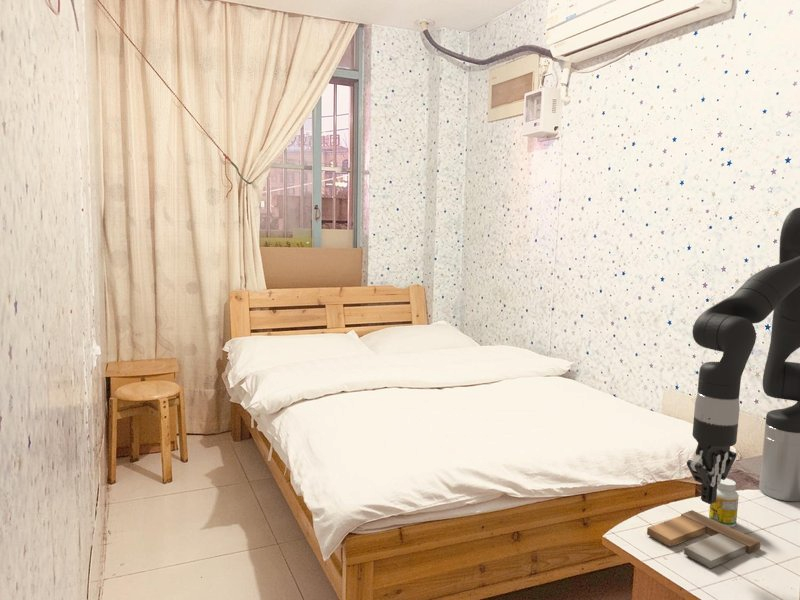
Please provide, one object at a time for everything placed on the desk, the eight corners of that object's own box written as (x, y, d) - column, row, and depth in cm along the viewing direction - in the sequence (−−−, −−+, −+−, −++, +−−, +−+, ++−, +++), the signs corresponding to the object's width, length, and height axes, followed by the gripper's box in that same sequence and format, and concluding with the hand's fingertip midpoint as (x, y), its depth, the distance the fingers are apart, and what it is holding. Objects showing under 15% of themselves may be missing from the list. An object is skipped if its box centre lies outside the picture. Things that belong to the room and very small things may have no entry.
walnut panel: (691, 516, 132) (692, 510, 131) (759, 548, 119) (760, 541, 119) (680, 520, 130) (681, 514, 129) (748, 553, 117) (749, 546, 117)
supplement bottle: (740, 529, 126) (744, 487, 125) (713, 527, 127) (717, 485, 126) (729, 517, 132) (733, 477, 131) (704, 515, 132) (708, 475, 131)
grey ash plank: (718, 539, 122) (719, 533, 122) (745, 552, 117) (746, 545, 117) (683, 554, 116) (684, 546, 115) (710, 568, 111) (711, 560, 111)
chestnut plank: (681, 521, 129) (682, 515, 129) (705, 533, 124) (706, 526, 124) (646, 534, 123) (647, 527, 123) (670, 546, 118) (670, 539, 118)
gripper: (714, 429, 105) (706, 518, 107) (755, 417, 111) (746, 502, 114) (676, 416, 111) (669, 501, 114) (717, 406, 118) (710, 486, 120)
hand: (708, 501), depth 114 cm, fingers closed
